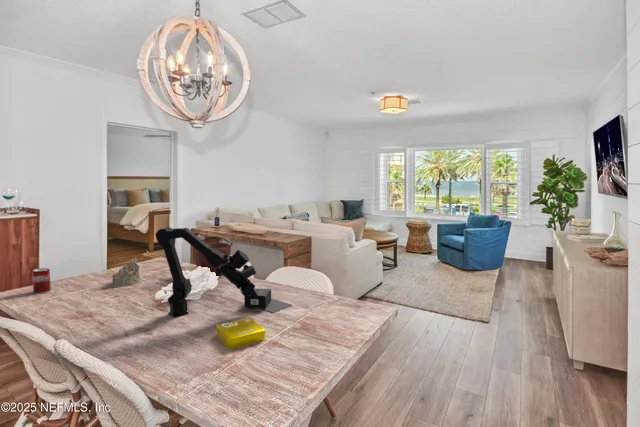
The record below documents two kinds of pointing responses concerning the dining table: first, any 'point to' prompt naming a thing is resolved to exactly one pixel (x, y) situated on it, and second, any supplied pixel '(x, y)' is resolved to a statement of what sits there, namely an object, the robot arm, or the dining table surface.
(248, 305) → the small box
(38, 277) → the soda can
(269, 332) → the dining table surface
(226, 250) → the bucket
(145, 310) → the dining table surface
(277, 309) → the dark rubber mat
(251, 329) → the element tile
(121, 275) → the jagged grey rock
